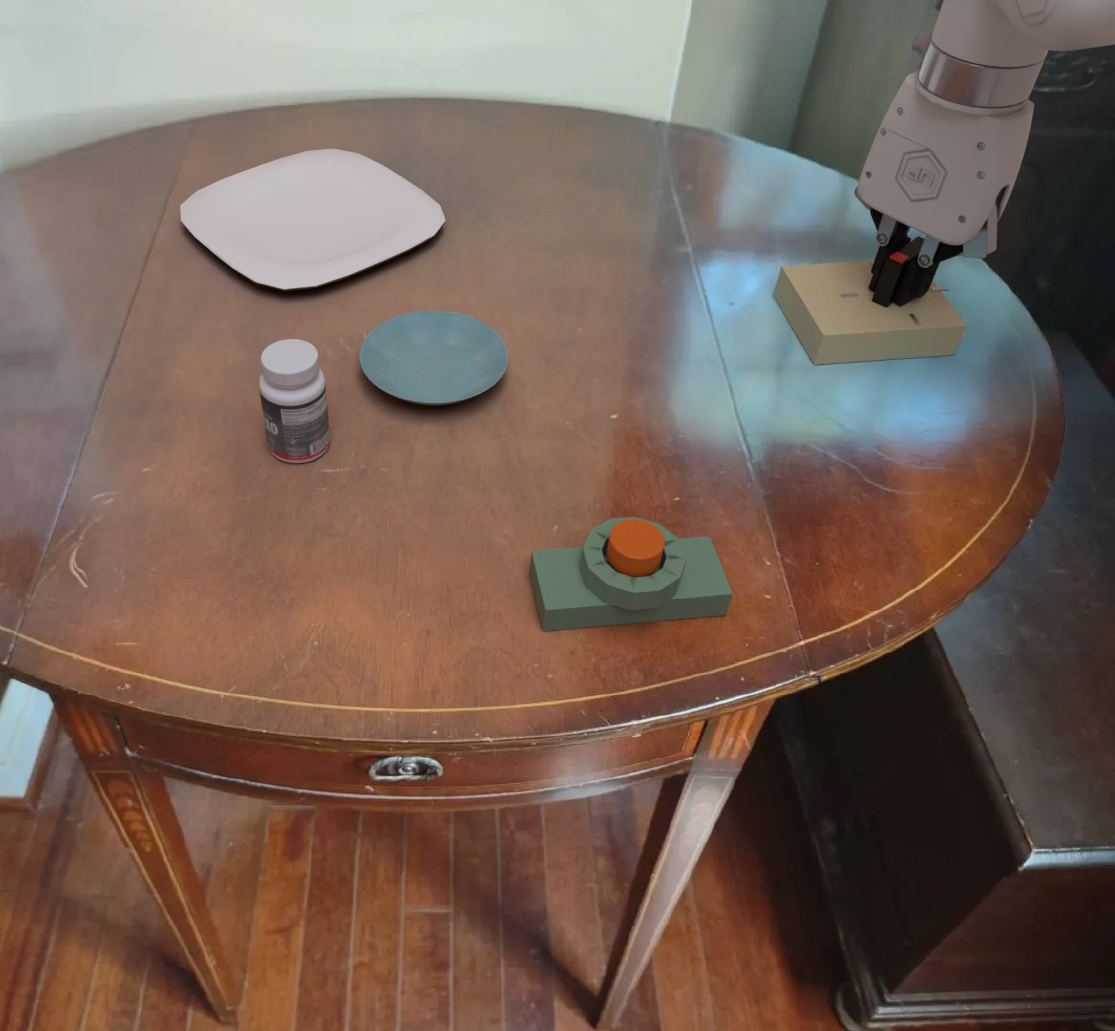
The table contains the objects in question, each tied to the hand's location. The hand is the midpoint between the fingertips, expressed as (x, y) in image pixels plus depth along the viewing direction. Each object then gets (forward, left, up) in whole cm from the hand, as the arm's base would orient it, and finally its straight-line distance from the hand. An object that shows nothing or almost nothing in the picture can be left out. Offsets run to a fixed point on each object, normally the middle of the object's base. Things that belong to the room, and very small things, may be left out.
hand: (895, 291), depth 87 cm
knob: (0, 0, 0) cm, 0 cm away
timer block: (+29, +27, -3) cm, 40 cm away
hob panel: (+2, 0, -3) cm, 4 cm away
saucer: (+39, +3, -3) cm, 39 cm away
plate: (+48, -21, -3) cm, 53 cm away
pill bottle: (+50, +10, -3) cm, 51 cm away
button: (+29, +27, 0) cm, 40 cm away
